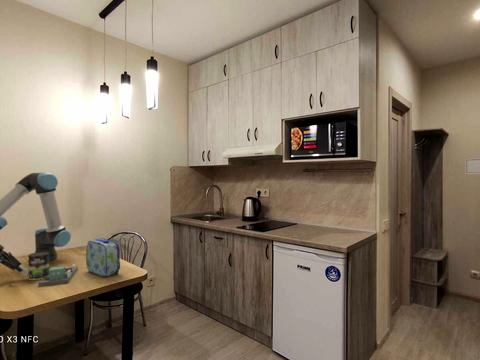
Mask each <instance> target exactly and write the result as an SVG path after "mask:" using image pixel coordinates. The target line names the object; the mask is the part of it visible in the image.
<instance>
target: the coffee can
mask: <svg viewBox="0 0 480 360" xmlns="http://www.w3.org/2000/svg"><path fill="white" fill-rule="evenodd" d="M49 270H50V261H49V252H37V253H35V252H33V253H30V254H28V271H29V273H28V280H29V281H38V280H42V279H43V280H44V277H45V276H49Z"/></svg>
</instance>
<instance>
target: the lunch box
mask: <svg viewBox="0 0 480 360" xmlns="http://www.w3.org/2000/svg"><path fill="white" fill-rule="evenodd" d="M120 250H121V249H120V246H119V244H118V242H115V241H112V240H109V239H105V238H97V239H92V240H89V241H88V242H87V245H86V250H85V251H86V252H85V253H86V254H85V257H86V259H85V261H86V268H87V270H88V272H90V273H92V274H96V275H98V276H99V277H103V278H107V277H108V276H113V275H118V274H119V271H120V270H121V261H120V258H121V257H120V254H121V253H120Z"/></svg>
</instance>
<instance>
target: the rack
mask: <svg viewBox="0 0 480 360" xmlns="http://www.w3.org/2000/svg"><path fill="white" fill-rule="evenodd" d="M77 271H78V266H76V264H72V266H71V267H65V273H66V279H62V280H54V281H49V276H45V277H44V279H43V280H44V281H39V282H38V283H37V285H38V286H37V287H44V286H45V287H48V286H55V285H64V284H69V282H70V281H71V279H72V278H73V277H74V275H75V274H76V273H77Z"/></svg>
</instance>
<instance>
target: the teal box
mask: <svg viewBox="0 0 480 360" xmlns="http://www.w3.org/2000/svg"><path fill="white" fill-rule="evenodd" d="M65 268H66V265H65V266H56V267H55V266H54V267H50V268H49V280H48V281H54V280H62V279H66V274H67V272H65Z"/></svg>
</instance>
